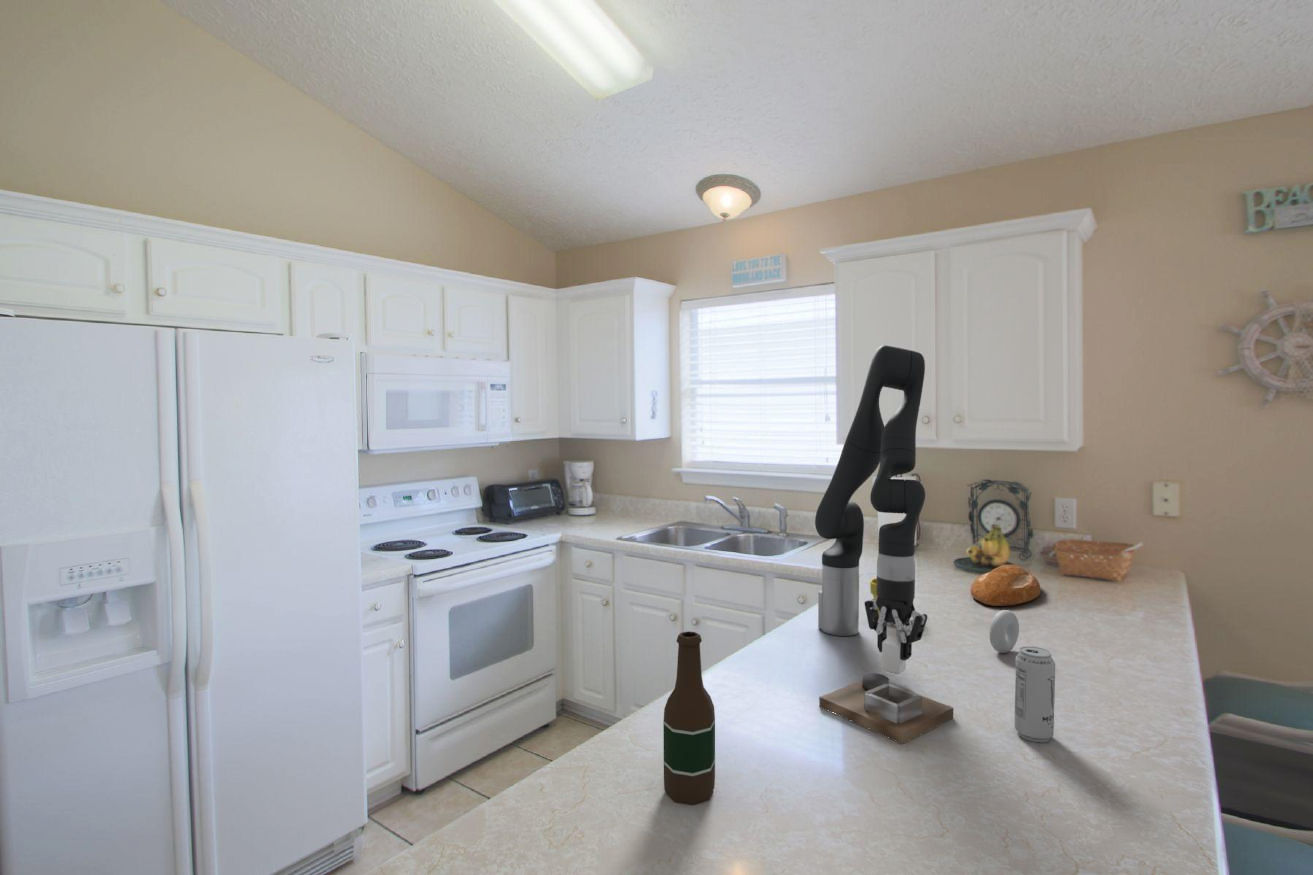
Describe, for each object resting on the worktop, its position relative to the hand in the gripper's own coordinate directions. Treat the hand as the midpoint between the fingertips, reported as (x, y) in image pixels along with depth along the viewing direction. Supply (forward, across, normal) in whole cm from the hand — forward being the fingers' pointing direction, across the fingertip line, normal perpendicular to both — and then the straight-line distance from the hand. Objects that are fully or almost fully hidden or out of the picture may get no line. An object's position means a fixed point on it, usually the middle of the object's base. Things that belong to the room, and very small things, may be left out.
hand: (893, 654), depth 142 cm
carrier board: (+6, -8, +14) cm, 17 cm away
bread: (+7, +19, -84) cm, 86 cm away
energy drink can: (+6, -29, 0) cm, 29 cm away
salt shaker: (+4, 0, 0) cm, 4 cm away
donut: (+6, -5, -35) cm, 36 cm away
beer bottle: (+6, -6, +60) cm, 60 cm away
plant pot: (+6, +27, -37) cm, 46 cm away
